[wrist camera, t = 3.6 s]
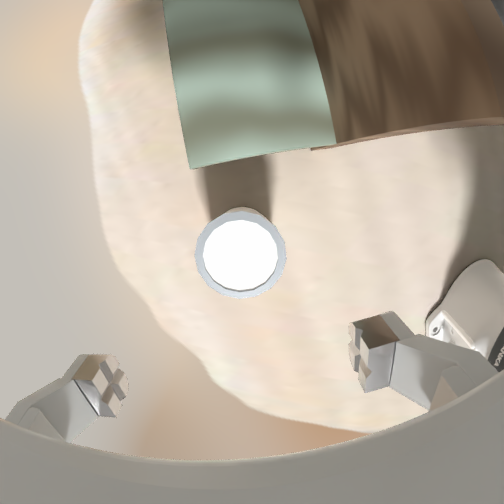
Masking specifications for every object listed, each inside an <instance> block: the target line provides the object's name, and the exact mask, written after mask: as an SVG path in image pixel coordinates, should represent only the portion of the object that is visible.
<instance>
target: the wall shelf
mask: <svg viewBox="0 0 504 504" xmlns="http://www.w3.org/2000/svg"><path fill="white" fill-rule="evenodd" d="M163 8H164V17H165V25H166V32H167V40H168V47H169V54H170V61H171V67H172V74H173V80H174V86H175V92H176V98H177V104H178V110H179V115H180V121H181V126H182V132H183V137H184V142H185V147H186V153H187V158H188V162H189V167H190V169H197V168H201V167H205V166H210V165H214V164H219V163H224V162H229V161H233V160H239V159H244V158H249V157H254V156H260V155H266V154H272V153H278V152H284V151H291V150H298V149H305V148H311V150H319V149H327V148H334V147H338V146H343V145H348V144H353V143H358V142H363V141H368V140H373V139H379V138H385V137H391V136H397V135H403V134H410V133H417V132H425V131H432V130H441V129H450V128H461V127H473V126H488V125H504V26H503V23H502V21H501V19H500V17H499V15H498V13H497V11H496V9H495V7H494V5H493V3H492V2H491V0H163Z"/></svg>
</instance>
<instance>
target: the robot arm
mask: <svg viewBox="0 0 504 504" xmlns="http://www.w3.org/2000/svg"><path fill="white" fill-rule="evenodd" d="M425 326H426V336H424V335H420V334H418V335H414V333H413V332H412V331H411V330H410V329H409V328H408V327H407V326H406V325H405V323H404V322H403V321H402V320H401V319H400V318H399V317H398V316H397V315H396V314H395V313H394V312H393V311H389V312H385V313H382V314H379V315H377V316H373V317H370V318H366V319H362V320H359V321H355V322H351V323H350V324H349V335H350V337H351V339H352V340H351V342H350V343H349V356H350V361H351V364H352V367H353V369H354V371H356V372H358V373H359V377H358V380H359V382H360V384H361V386H362V388H363V390H364V392H365V393H367V392H371V391H374V390H378V389H381V388H384V387H388V386H389V387H390V388H392V389H393V390H395V391H397V392H398V393H400V394H402V395H403V396H405V397H407V398H408V399H410V400H412V401H413V402H415V403H417V404H419V405H420V406H422V407H424V408H426V409H427V410H429V411H428V412H427V413H425V414H423V415H421V416H418V417H416V418H414V419H411V420H409V421H406V422H404V423H401V424H398V425H396V426H393V427H390V428H388V429H385V430H382V431H379V432H376V433H373V434H370V435H367V436H364V437H360V438H357V439H353V440H350V441H346V442H342V443H338V444H334V445H330V446H326V447H322V448H316V449H312V450H306V451H301V452H295V453H289V454H283V455H276V456H267V457H259V458H248V459H232V460H174V459H173V460H172V459H159V458H149V457H140V456H132V455H125V454H119V453H113V452H107V451H102V450H97V449H93V448H88V447H84V446H80V445H76V444H72V443H71V442H72V441H73V440H74V439H75V438H76V437H77V436H79V435H80V434H81V433H82V432H83V431H84V430H85V429H86V428H87V427H89V426H90V425H91V424H92V423H93V422H94V421H95V420H96V419H97V418H98V417H99V416H104V417H117V415H118V413H119V411H120V409H121V407H122V403H121V400H122V399H124V398H125V397H126V396H127V393H128V389H129V383H128V380H127V377H126V375H125V373H124V372H122V371H121V370H120V369H119V362H118V360H117V359H116V357H115V356H113V355H107V354H82V355H79V356H78V357H77V359H76V360H75V361H74V363H73V364H72V365H71V366H70V368H69V369H68V370H67V372H66V373H65V374H64V376H63V377H62V378H61V379H60V378H59V379H57V380H55V381H54V382H52V383H50V384H48V385H47V386H45V387H43V388H41V389H40V390H38V391H36V392H35V393H33V394H31V395H29V396H27V397H26V398H24V399H22V400H21V401H19V402H18V403H17V404H16V405H15V407H14V408H13V409H12V411H11V412H10V413H9V415H8V416H7V418H6V419H5V420H4V419H2V418H0V504H504V274H503V273H502V272H501V271H500V269H499V268H498V267H497V266H496V265H495V263H494V262H492V261H491V260H487V259H482V260H479V261H476V262H474V263H473V264H471V265H470V266H468V267H467V268H466V269H465V270H464V271H463V272H462V273H461V274H460V275H459V276H458V278H457V279H456V280H455V282H454V283H453V285H452V286H451V288H450V289H449V291H448V293H447V295H446V296H445V298H444V300H443V301H442V303H441V304H440V305H439V306H438V307H437V308H436V309H435V310H434V311H433V312H432V313H431V315H430V316H429V317H428V319H427V320H426V325H425Z"/></svg>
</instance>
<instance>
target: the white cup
mask: <svg viewBox="0 0 504 504" xmlns="http://www.w3.org/2000/svg"><path fill="white" fill-rule="evenodd" d="M195 259H196V264H197V268H198V272H199V274H200V275H201V276H202V278H203V279H204V281H205V282H206V283H207V285H208V286H209V287H211V288H212V289H214V290H215V291H217V292H219V293H220V294H222V295H225V296H229V297H234V298H238V299H241V298H248V297H255V296H258V295H259V294H261V293H263V292H265V291H267V290H269V289H270V288H271V287H272V286H273V285H274V284H275V283H276V281H277V280H278V279H279V278H280V277H281V275H282V272H283V269H284V266H285V262H286V259H287V258H286V250H285V242H284V240H283V238H282V237H281V235H280V233H279V232H278V230H277V228H276V226H275V225H273V224H272V223H271V222H270V221H269V220H268V219H267V218H266V217H264V216H263V215H262V214H260V213H259V212H258V211H256V210H255V209H251V208H247V207H238V208H232V209H230V210H229V211H227V212H225V213H224V214H222V215H221V216H219V217H217V218H216V219H214V220H213V221H211V222H210V223H208V224H207V226H206V227H205V229H204V230H203V231H202V233H201V234H200V236H199V237H198V240H197V245H196V250H195Z"/></svg>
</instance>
